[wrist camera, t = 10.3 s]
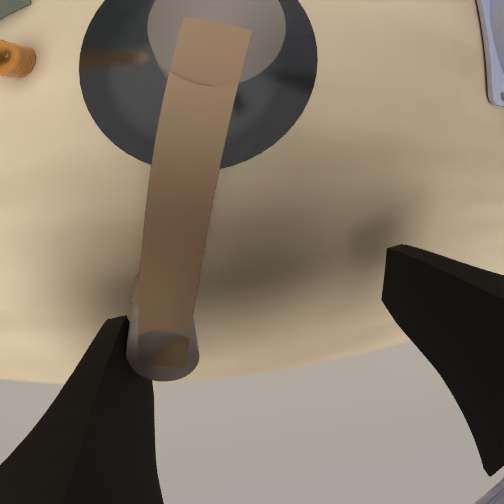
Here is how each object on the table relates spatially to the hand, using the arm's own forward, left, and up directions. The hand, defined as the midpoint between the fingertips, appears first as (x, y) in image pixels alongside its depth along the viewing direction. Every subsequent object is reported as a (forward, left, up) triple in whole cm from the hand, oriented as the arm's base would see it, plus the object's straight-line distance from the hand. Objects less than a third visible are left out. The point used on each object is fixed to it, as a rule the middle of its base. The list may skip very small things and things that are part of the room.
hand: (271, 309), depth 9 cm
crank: (+1, -7, -3) cm, 8 cm away
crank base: (+1, -7, -3) cm, 8 cm away
